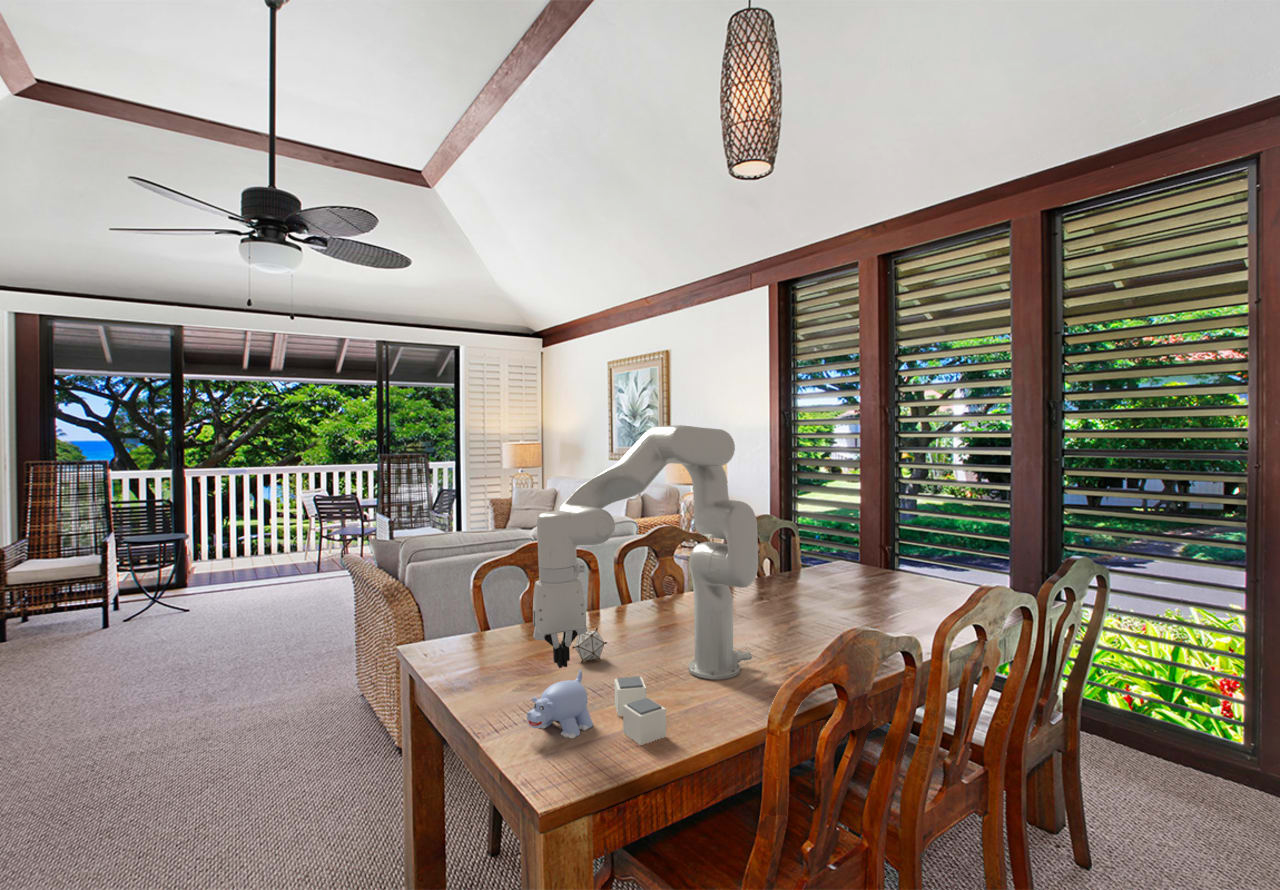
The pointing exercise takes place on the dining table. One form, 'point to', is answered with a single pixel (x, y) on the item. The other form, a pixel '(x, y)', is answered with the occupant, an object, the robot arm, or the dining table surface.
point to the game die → (589, 645)
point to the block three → (628, 691)
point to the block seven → (644, 721)
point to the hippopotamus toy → (562, 708)
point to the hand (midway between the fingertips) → (561, 665)
